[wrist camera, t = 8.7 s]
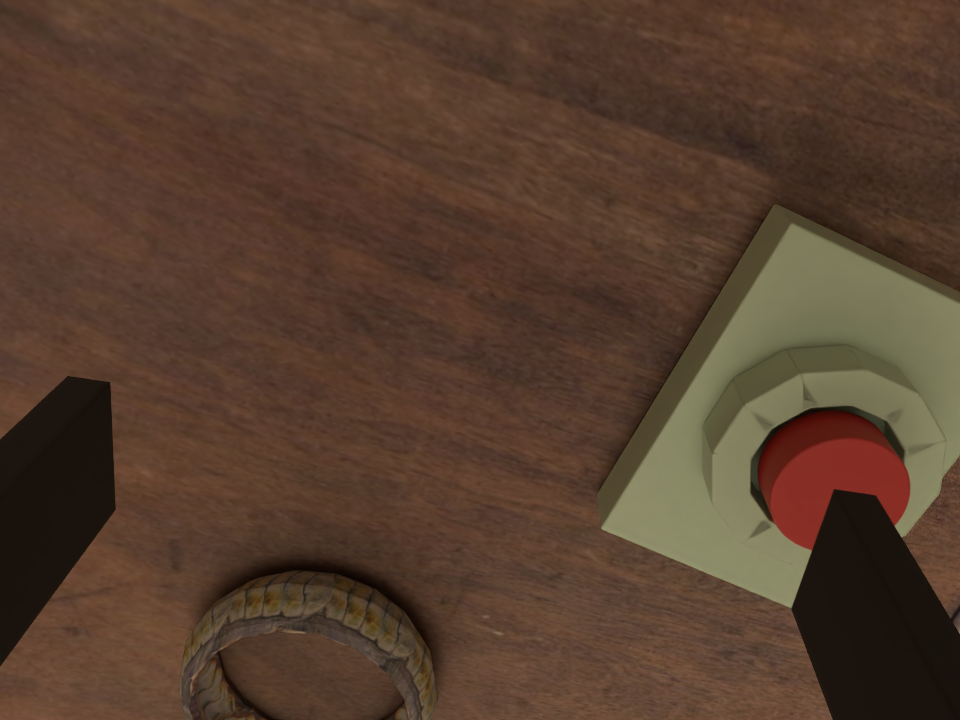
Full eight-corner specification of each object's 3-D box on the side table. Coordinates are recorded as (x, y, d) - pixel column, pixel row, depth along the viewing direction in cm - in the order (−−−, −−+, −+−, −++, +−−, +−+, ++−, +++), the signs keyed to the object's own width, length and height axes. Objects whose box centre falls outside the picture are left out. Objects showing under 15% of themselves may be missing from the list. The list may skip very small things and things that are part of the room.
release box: (773, 202, 29) (808, 241, 25) (1015, 318, 30) (1081, 371, 26) (595, 494, 33) (603, 562, 30) (809, 583, 35) (841, 660, 31)
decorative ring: (237, 519, 35) (167, 696, 39) (209, 574, 32) (136, 759, 36) (481, 614, 36) (388, 776, 40) (476, 675, 33) (376, 843, 37)
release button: (802, 388, 27) (819, 417, 26) (917, 440, 28) (940, 471, 26) (732, 491, 29) (743, 523, 27) (841, 538, 29) (859, 572, 28)
